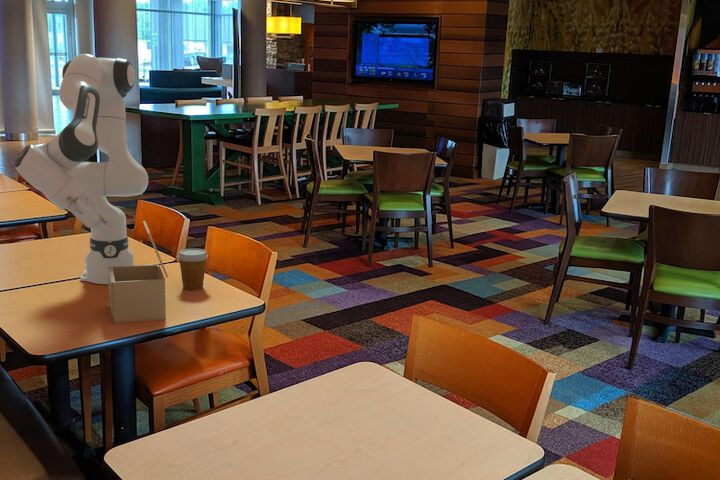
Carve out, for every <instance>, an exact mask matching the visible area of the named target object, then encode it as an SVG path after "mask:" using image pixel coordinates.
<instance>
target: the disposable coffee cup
mask: <svg viewBox="0 0 720 480" xmlns="http://www.w3.org/2000/svg"><path fill="white" fill-rule="evenodd" d="M208 256H209V255H208V254H207V251H206V250H205V249H202V248H186V249H181V250H179V251H178V254H177V258H178V260H179V267H180V268H179V269H180V274H181V283H182V287H183V289H184V290H187V289H188V290H189V291H196V290H195V289H198V290H200V288H201V289H203V288H202V287H204V279H205V271H206V265H207V259H208Z"/></svg>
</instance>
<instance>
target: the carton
mask: <svg viewBox="0 0 720 480" xmlns="http://www.w3.org/2000/svg"><path fill="white" fill-rule="evenodd" d="M161 268H162V267H161V266H160V264H142V265H140V264H139V265H134V266H119V267H108V277H109V284H108V296H109V297H108V299H109V307H110V312H111V317H112V318H113V324H125V323H138V322H139V323H140V322H149V321H151V322H153V321H163V320H164V321H165V320H166V318H167V317H166V315H167V313H166V311H167V310H166V277H165V275H164V274H163V273H164V272H163V270H162V269H161Z"/></svg>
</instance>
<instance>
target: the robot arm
mask: <svg viewBox="0 0 720 480" xmlns="http://www.w3.org/2000/svg"><path fill="white" fill-rule="evenodd" d="M61 73H62V81H61V83H60V87H59V100H60V102H61V103H62V105H63V106H64V107H65V108H66V109H68V110H69V111H71V112H73V115H72V120H71V122H69V123H68V124H67V125H66V126H65V127H64V128H63V129H61V131H60V132H58V134H57V135H55V136H54V137H53V138H52V139H50V140H49V141H46V142H44V143H41V144H27V145H26V146H25V147H24V148H23V149H21V151H20V153H18V155H17V157H16V159H15V160H14V168H15V170H16V171H17V173H18V174H19V175H20V176H21V177H22V178H23V179H24V180H25V181H26V182H27V183H29V185H31V186H32V187H33V188H34V189H36V190H37V191H40V192H41V193H42V194H43V195H44V196H45V198H46V200H48V201H49V202H50V203H52V204H53V205H54V206H55V207H57V208H58V209H59V210H60V211H61V212H62V211H64V210H67V211H68V212H71V214H72V215H73V216H74V217H76V219H77V220H79V221H80V222H81V223H82V224H83V225H84V226H85V227H87V228H88V229H90V234H91V235H90V237H89V238H90V239H89V247H90V251H89V252H88V253H87V254H86V256H85V257H84V264H85V270H84V271H83V273H82V274H81V276H80V277H79V280H80V281H83V282H88V283H92V284H97V285H109V277H108V267H119V266H135V265H134V264H135V263H134V262H135V261H134V253H133V252H131V251H130V250H129V237H128V236H127V216H126V214H125V212H124V211H123V210H121V208H119V207H117V206H114V205H113V204H111V203H110V202H109V201H108V199H107V197H120V198H121V197H128V198H129V197H134V196H139V195H140V196H141V195H142V194H143V193H145V191H146V190H147V187H148V185H149V174H148V172H147V170H146V169H145V168H144V166H143V165H142V164H140V163H139V162H138V161H136V159H134V157H133V155H132V154H131V152H130V150H129V148H128V144H127V143H128V142H127V131H126V130H127V128H126V127H127V126H126V125H127V124H126V122H127V116H126V115H127V113H126V103H125V97H127V94H129V93H130V92H131V91H132V89H133V88H134V85H135V84H136V83H135V82H136V81H135V80H136V73H135V69H134V66H133V64H132V63H131V62H130V60H128V59H124V58H120V57H117V58H113V57H96V56H95V55H92V54H89V53H81V54H78V55H75V57H74V58H72V59H71V60H68V61H67V62H66V63H65V64H64V65H63V68H62V72H61ZM97 151H100V152H102V153H104V154H106V155H107V156H108V160H109V161H107V162H106V161H105V162H104V161H103V162H99V161H98V162H96V161H86V160H88V159H89V158H92V157H93V156H95V154H96V153H97Z"/></svg>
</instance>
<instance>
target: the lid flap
mask: <svg viewBox="0 0 720 480" xmlns="http://www.w3.org/2000/svg"><path fill="white" fill-rule="evenodd" d="M142 222H143V225H144V228H145V230H146V232H147V234H148V236H149V239H150V241H151V244H152V247H153V249H154V251H155V254H156V256H157V258H158V262H159V263H160V264H159V265H161V266H160V267H161V268H162V272H163V273H164V277H165V279H166V278H169V275H168V273H167V270H166V267H165V266H164V264H163V263H164V262H163V261H162V258H161V255H160V253H159V251H158V249H157V246H156V244H155V241H154V238H153V237H152V234H151V232H150V229H149V226H148V224H147V222H146V220H143V221H142Z"/></svg>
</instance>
